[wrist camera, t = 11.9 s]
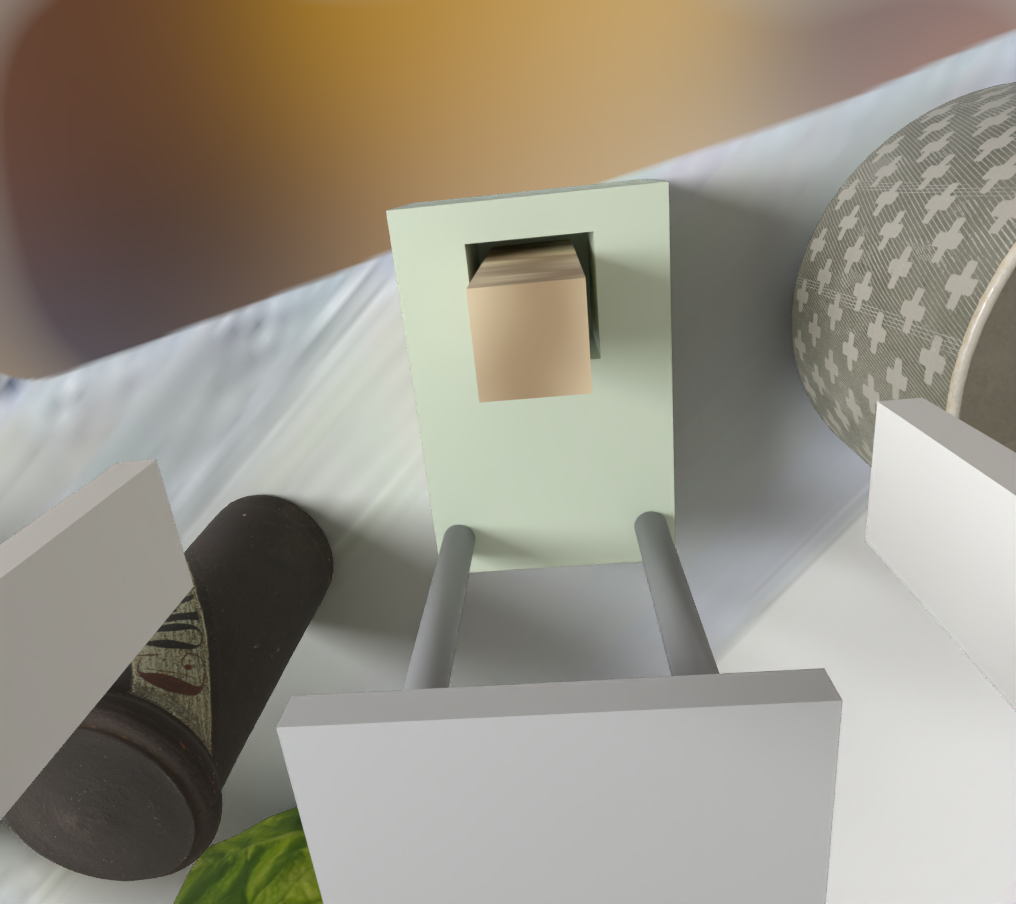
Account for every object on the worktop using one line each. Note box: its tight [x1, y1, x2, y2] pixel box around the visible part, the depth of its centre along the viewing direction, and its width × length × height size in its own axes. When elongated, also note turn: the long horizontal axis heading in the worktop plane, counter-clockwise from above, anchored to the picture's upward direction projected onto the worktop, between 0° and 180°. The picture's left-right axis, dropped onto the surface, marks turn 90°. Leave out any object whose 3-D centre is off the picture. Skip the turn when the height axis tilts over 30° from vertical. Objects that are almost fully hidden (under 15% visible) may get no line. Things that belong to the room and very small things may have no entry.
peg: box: [466, 239, 592, 403], centre depth 31 cm, size 4×4×14 cm
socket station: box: [276, 179, 842, 904], centre depth 29 cm, size 20×14×25 cm
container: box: [4, 495, 333, 881], centre depth 37 cm, size 9×9×20 cm
